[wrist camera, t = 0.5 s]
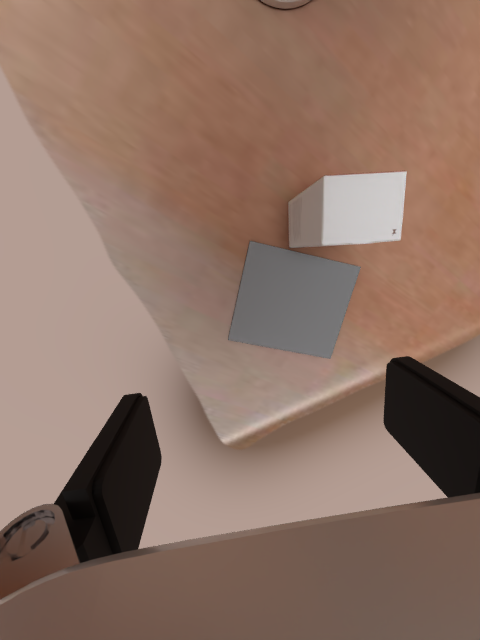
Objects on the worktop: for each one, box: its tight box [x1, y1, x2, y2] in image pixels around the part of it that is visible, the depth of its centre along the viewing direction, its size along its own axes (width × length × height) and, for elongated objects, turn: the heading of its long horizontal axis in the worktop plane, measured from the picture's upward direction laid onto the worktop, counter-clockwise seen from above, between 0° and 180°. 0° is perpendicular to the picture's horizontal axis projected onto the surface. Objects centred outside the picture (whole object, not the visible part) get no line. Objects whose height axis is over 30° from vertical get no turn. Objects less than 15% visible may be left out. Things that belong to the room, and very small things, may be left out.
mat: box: [228, 241, 361, 359], centre depth 39 cm, size 15×17×1 cm
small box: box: [288, 171, 407, 248], centre depth 30 cm, size 8×6×13 cm
